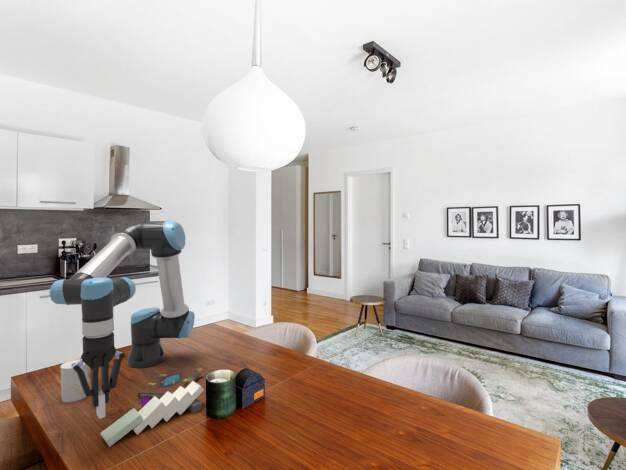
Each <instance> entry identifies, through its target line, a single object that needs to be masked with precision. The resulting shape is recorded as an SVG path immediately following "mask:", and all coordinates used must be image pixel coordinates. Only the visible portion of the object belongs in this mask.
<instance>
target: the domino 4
mask: <svg viewBox="0 0 626 470" xmlns="http://www.w3.org/2000/svg"><path fill="white" fill-rule="evenodd" d="M172 395H174V396H175V397H176V398H177V399H178V401H179V402H178V403H177V404H176V405H175V406H174V407H173V408H172V409H171V410H170V411H169V412H168V413H167V414H166V415H165V416H164V417H163V418H162V420H164V421H165V422H168V421H169V420H170V419H171V418H172V417H173V416H174V415H175V414H176V413H177V411H178V409H179V408H180V407H181V406H182V405H183V404H184V403H185V402H186V401H187V400H188V399H189V398H190V397H191V396H192V395H191V394H190V393H189V392H188V391H187V390H186V389H184V388H183V387H181V386H180V387H179V388H178V389H177V390H176V391H175V392H174V393H173V394H172Z"/></svg>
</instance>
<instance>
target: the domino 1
mask: <svg viewBox="0 0 626 470" xmlns="http://www.w3.org/2000/svg"><path fill="white" fill-rule="evenodd" d="M138 412H139V411H138V410H137V409H136V408H135V407H133V408H132V409H130V410H128V412H126V413H125V414H124V415H122V416H121V417H120V418H118V419H117V420H116V421H115V422H113V423H112V424H111V425H109V426H108V427H106V428H105V429H103V430H102V431H101V432H100V435H101V437H102V439H103V440H104V441H105V443H106V444H107V446H108V447H109V448H111V447H112V446H113V445H114V444H115V443H117V442H118V441H119V440H121V439H122V438H123V437H125V435H127V434H129V432H130V431H133V428H134V427H136V426H137V425H138V424H139V423H141V422H142V421H143V418H142V416H141V415H140V414H139V413H138Z"/></svg>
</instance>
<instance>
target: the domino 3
mask: <svg viewBox="0 0 626 470" xmlns="http://www.w3.org/2000/svg"><path fill="white" fill-rule="evenodd" d="M159 400H160V401H162V402H163V404H164V405H165V406H166V407H165V408H164V409H163V410H162V411H161V412H160V413H159V414H158V415H157V416H156V417H155V418H154V419H153V420H152V421H151V422H150V423H149V424H148V425H147V426H149V427H150V428H151V429H154V427H155V426H156V425H157V424H158V423H159V422H160V421H162V420H163V417H164V416H165V415H166V414H167V413H168V412H169V411H170V410H171V409H172V408H173V407H174V406H175V405H176V404H177V403H178V402H179V401H178V399H177V398H176V397H175V396H174V395H172V394H171V393H170V392H168V391H167V392H166V393H165V394H164V395H163V396H162V397H161V398H160V399H159Z"/></svg>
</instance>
